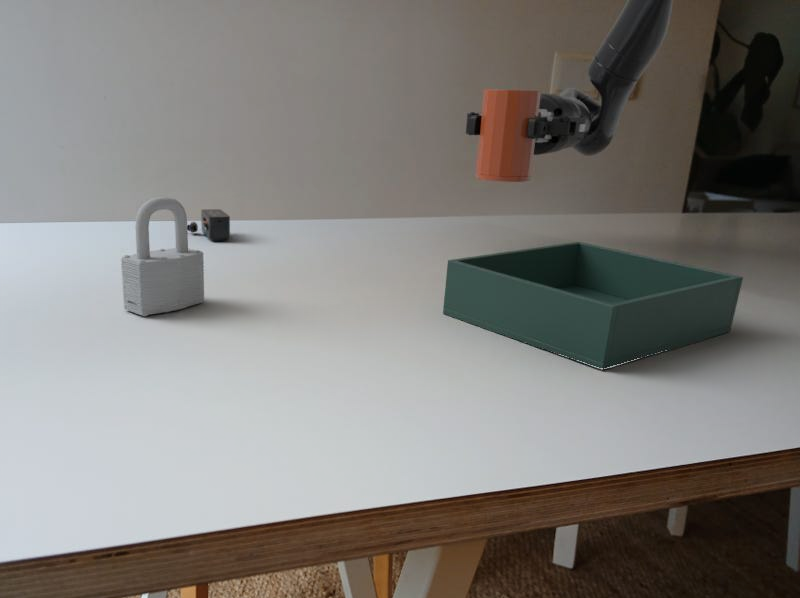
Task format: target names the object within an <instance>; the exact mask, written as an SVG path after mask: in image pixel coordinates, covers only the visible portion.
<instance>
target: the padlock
mask: <svg viewBox="0 0 800 598" xmlns="http://www.w3.org/2000/svg"><path fill="white" fill-rule="evenodd" d="M162 210H166V211H170V212H171V213H172V216H173V220H174V233H175V234H174V238H175V239H174V241H175V247H174V248H173V247H172V248H165V249H164V248H160V249H155V250H151V249H150V220H151V217H152V215H153V214H154V213H155V212H158V211H162ZM187 226H188V217H187V212H186V209H185V207H184V205H183V204H182V202H180V201H178V200H177V199H175V198H173V197H168V196H157V197H153V198H151V199H149V200H147V201H145V202H144V203H143V204H142V205H141V206H140V207H139V209H138V210H137V213H136V216H135V228H134V229H135V246H136V253H134V254H129V255H128V254H126V255H124V256H122V257H121V259H120V263H121V265H120V266H121V277H122V278H121V280H122V295H123V309H124V310H126V311H128V312H132V313H134V314H136V315H140V316H142V317H147V316H148V315H154V314H155V315H156V314H163V313H169V312H174V311H178V310H183V309H186V308H188V307H191V306H194V305H198V304H199V305H201V304H202V303H204V302H205V272H204V271H205V270H204V268H205V267H204V266H205V265H204V262H205V261H204V252H203V251H201V250H199V249H197V250H196V249H193V248H190V247H189V235H188V233H189V231H188V230H187Z"/></svg>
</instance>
